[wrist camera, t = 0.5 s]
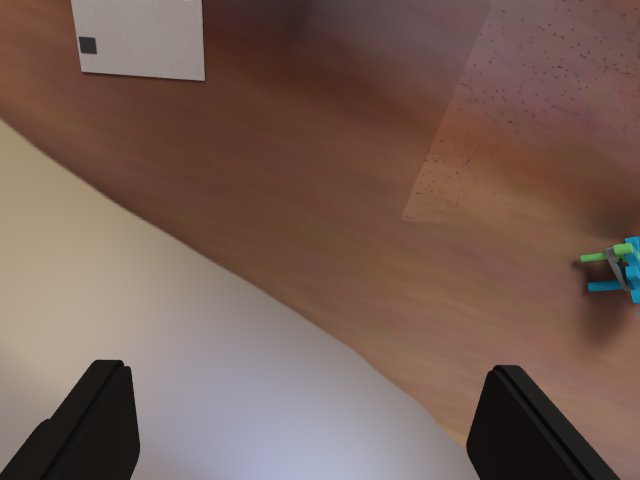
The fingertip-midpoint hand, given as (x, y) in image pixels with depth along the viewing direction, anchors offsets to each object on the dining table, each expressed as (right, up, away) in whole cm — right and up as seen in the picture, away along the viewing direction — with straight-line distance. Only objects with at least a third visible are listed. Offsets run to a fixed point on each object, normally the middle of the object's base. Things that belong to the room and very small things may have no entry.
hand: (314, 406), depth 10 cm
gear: (+35, +3, +33) cm, 48 cm away
